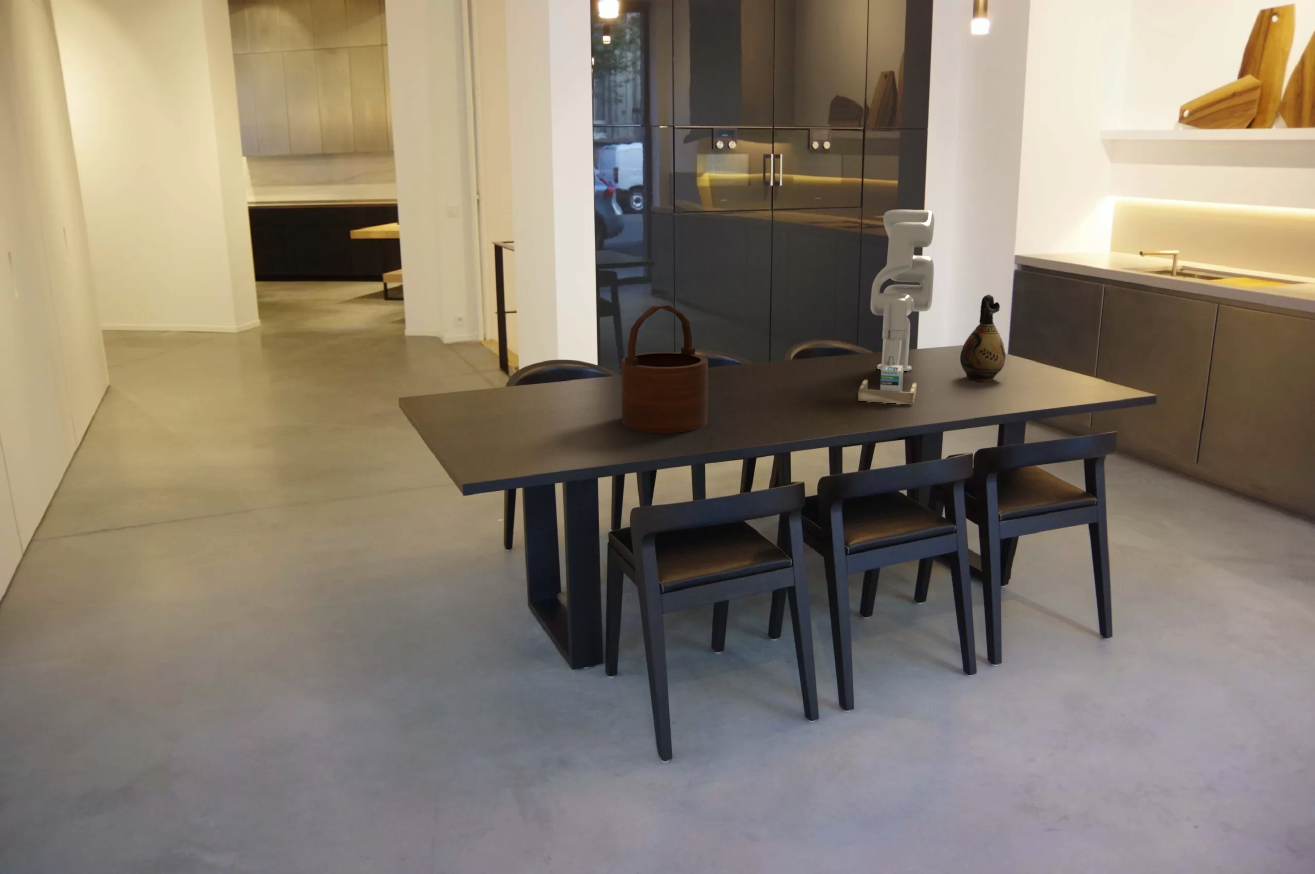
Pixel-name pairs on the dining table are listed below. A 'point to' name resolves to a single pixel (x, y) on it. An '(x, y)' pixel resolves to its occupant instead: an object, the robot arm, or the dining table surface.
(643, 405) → the wooden bucket
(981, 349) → the ceramic jug
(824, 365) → the dining table surface
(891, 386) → the light bulb box
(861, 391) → the birch stall
